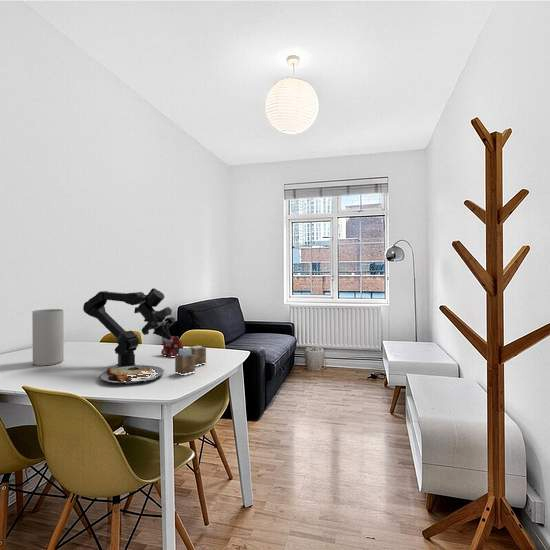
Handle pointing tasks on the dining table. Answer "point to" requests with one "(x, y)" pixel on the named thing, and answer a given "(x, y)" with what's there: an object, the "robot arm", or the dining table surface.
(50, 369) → the dining table surface
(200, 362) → the key post
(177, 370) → the key post
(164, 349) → the toy fire truck
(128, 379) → the food plate
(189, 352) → the key
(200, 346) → the key
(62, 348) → the cylinder vase
